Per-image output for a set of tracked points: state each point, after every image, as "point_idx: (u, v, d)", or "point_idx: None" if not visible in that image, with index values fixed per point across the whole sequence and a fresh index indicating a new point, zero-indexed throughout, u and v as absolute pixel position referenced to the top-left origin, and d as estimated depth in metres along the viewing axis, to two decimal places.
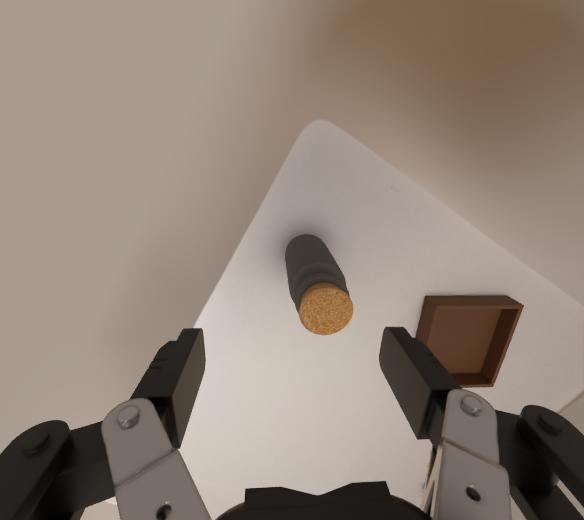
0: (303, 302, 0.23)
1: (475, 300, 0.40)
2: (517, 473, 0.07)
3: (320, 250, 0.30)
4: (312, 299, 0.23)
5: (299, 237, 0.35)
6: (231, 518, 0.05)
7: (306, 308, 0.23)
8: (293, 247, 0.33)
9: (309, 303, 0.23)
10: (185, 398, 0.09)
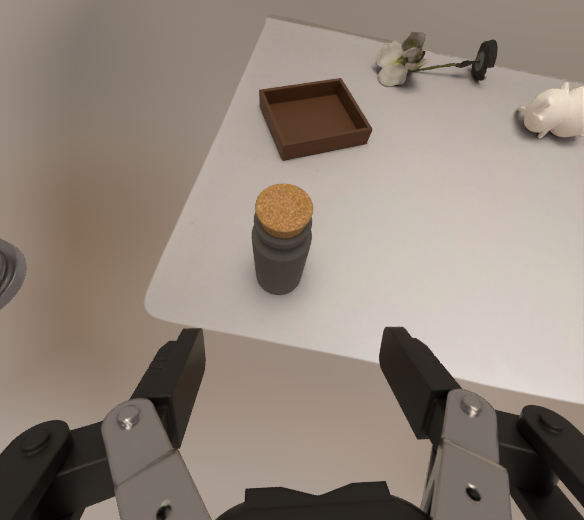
0: (280, 229, 0.21)
1: (269, 123, 0.45)
2: (517, 473, 0.07)
3: None
4: (274, 222, 0.21)
5: (261, 284, 0.34)
6: (231, 518, 0.05)
7: (286, 225, 0.21)
8: (268, 284, 0.31)
9: (279, 224, 0.21)
10: (186, 397, 0.09)
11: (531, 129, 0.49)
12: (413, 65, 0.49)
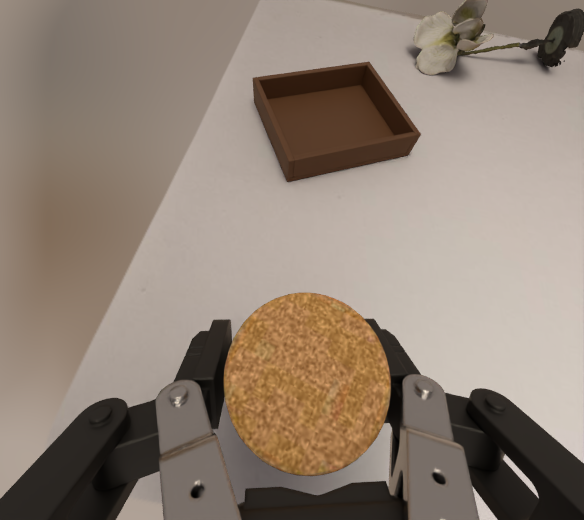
0: (301, 469, 0.07)
1: (268, 126, 0.30)
2: (464, 451, 0.08)
3: None
4: (279, 442, 0.07)
5: None
6: None
7: (317, 450, 0.07)
8: None
9: (297, 447, 0.07)
10: (221, 383, 0.10)
11: None
12: (471, 43, 0.35)
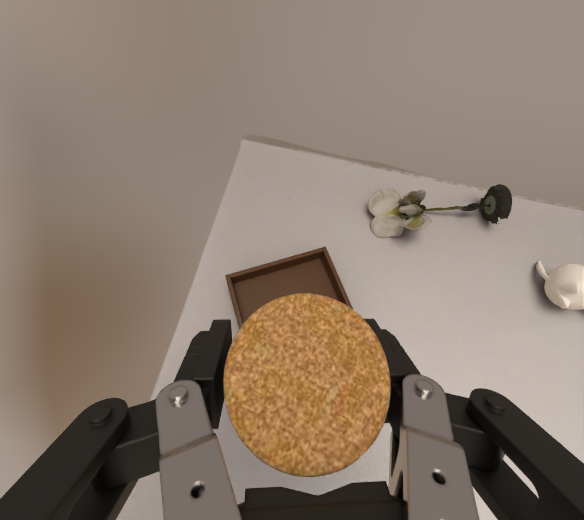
0: (301, 470, 0.07)
1: None
2: (464, 451, 0.08)
3: None
4: (279, 443, 0.07)
5: None
6: None
7: (317, 450, 0.07)
8: None
9: (296, 448, 0.07)
10: (221, 382, 0.10)
11: None
12: (411, 229, 0.41)
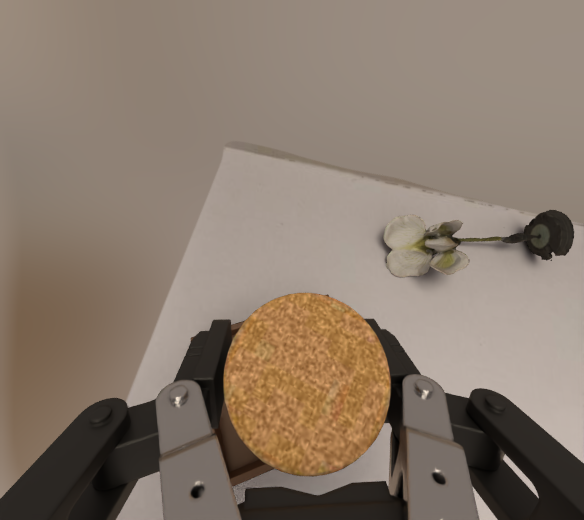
0: (301, 470, 0.07)
1: None
2: (464, 451, 0.08)
3: None
4: (279, 443, 0.07)
5: None
6: None
7: (317, 450, 0.07)
8: None
9: (296, 447, 0.07)
10: (221, 382, 0.10)
11: None
12: (443, 272, 0.31)
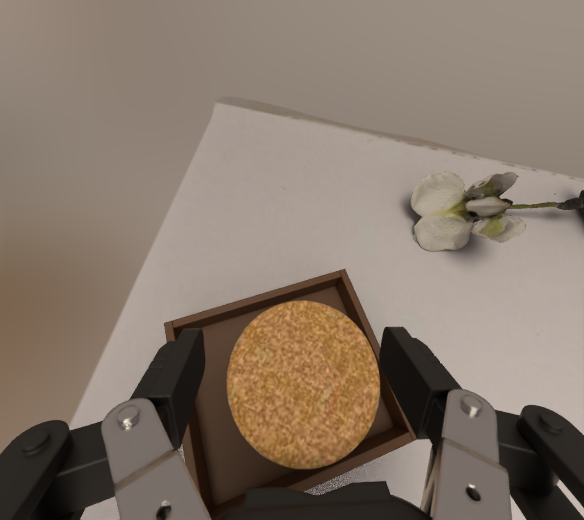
0: (297, 463, 0.07)
1: None
2: (517, 473, 0.07)
3: None
4: (277, 439, 0.07)
5: None
6: (231, 518, 0.05)
7: (312, 445, 0.07)
8: None
9: (293, 443, 0.07)
10: (185, 398, 0.09)
11: None
12: None
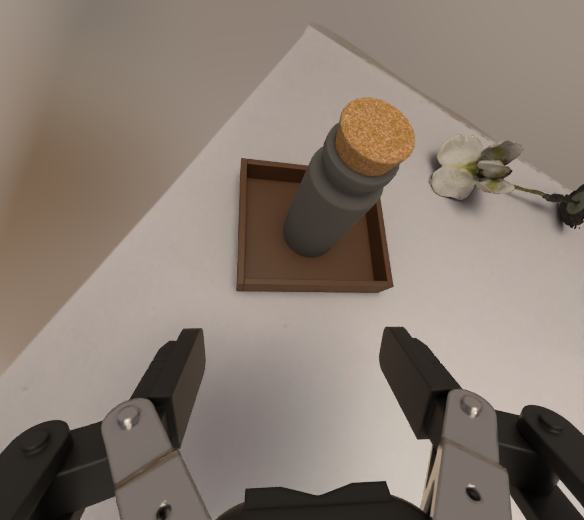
0: (368, 155, 0.15)
1: None
2: (517, 473, 0.07)
3: (297, 191, 0.23)
4: (361, 143, 0.15)
5: (287, 237, 0.28)
6: (231, 518, 0.05)
7: (376, 152, 0.15)
8: (298, 237, 0.25)
9: (368, 148, 0.15)
10: (185, 398, 0.09)
11: None
12: (488, 189, 0.31)
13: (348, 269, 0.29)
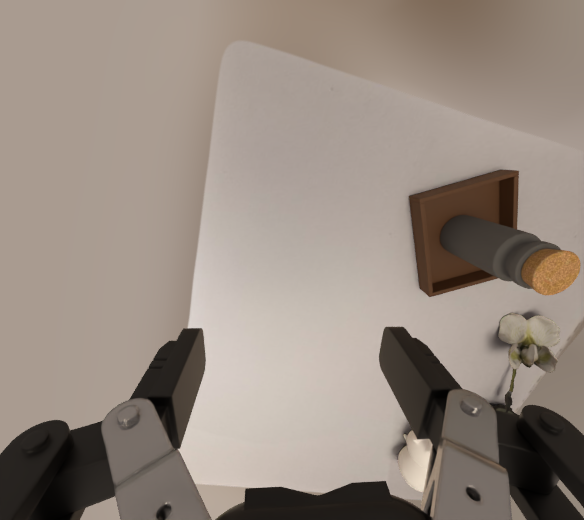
0: (537, 271, 0.26)
1: (463, 183, 0.37)
2: (517, 473, 0.07)
3: (497, 225, 0.33)
4: (544, 266, 0.26)
5: (454, 220, 0.39)
6: (231, 518, 0.05)
7: (539, 275, 0.26)
8: (458, 230, 0.37)
9: (542, 270, 0.26)
10: (185, 397, 0.09)
11: (411, 431, 0.54)
12: (511, 351, 0.44)
13: (434, 266, 0.42)
